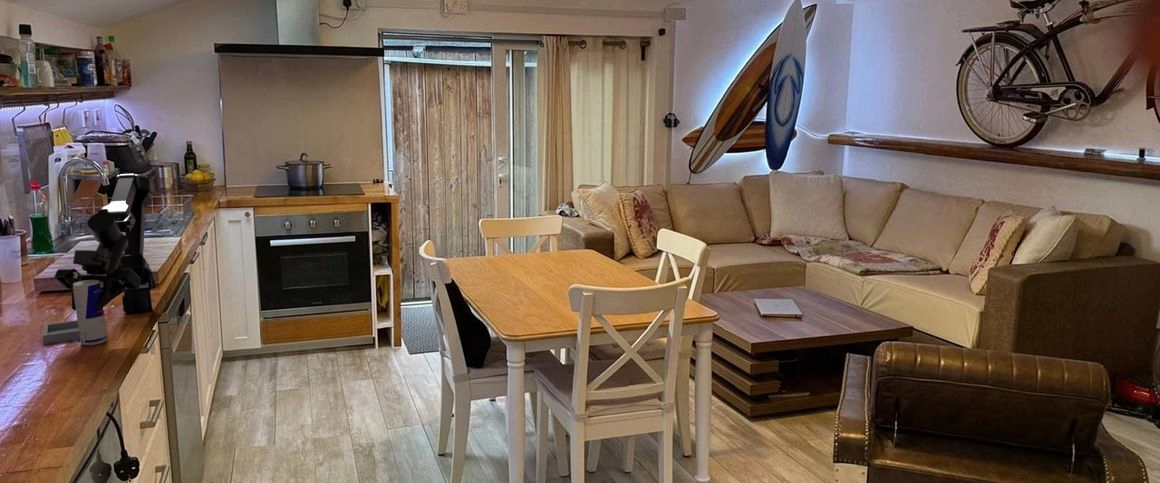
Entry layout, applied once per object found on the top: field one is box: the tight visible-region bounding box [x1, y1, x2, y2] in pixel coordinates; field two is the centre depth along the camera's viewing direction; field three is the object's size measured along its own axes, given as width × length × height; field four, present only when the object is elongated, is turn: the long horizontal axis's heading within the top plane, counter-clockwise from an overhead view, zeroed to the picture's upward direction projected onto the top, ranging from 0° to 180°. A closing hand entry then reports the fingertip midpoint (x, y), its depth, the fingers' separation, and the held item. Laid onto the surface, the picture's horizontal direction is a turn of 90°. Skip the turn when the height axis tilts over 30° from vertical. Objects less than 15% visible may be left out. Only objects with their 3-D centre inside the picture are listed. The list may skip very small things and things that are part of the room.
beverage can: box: [73, 280, 108, 347], centre depth 200 cm, size 6×6×15 cm
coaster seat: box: [42, 319, 80, 345], centre depth 208 cm, size 11×11×2 cm
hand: (85, 309), depth 199 cm, fingers closed on beverage can, 5 cm apart
